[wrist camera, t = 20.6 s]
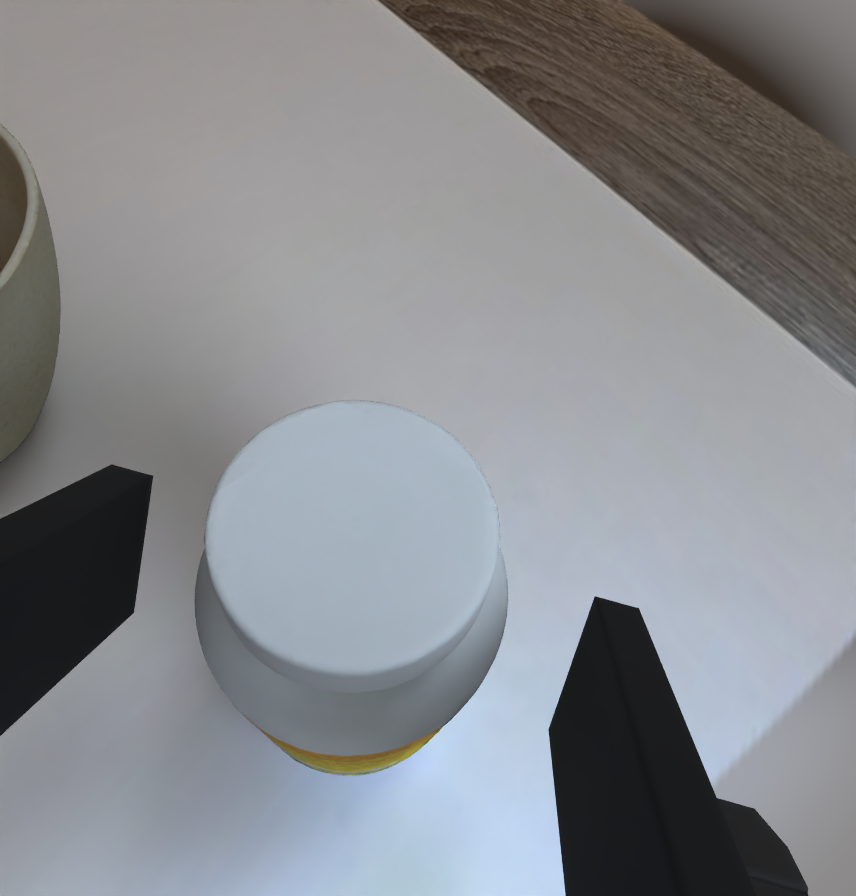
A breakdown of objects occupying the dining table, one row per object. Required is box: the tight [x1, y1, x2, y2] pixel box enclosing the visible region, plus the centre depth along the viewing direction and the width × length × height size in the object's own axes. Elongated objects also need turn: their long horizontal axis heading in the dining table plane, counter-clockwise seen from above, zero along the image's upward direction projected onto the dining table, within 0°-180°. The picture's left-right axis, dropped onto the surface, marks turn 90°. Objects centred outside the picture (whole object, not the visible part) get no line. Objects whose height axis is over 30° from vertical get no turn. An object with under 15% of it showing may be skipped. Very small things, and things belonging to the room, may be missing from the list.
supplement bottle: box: [195, 401, 508, 776], centre depth 13 cm, size 5×5×10 cm
